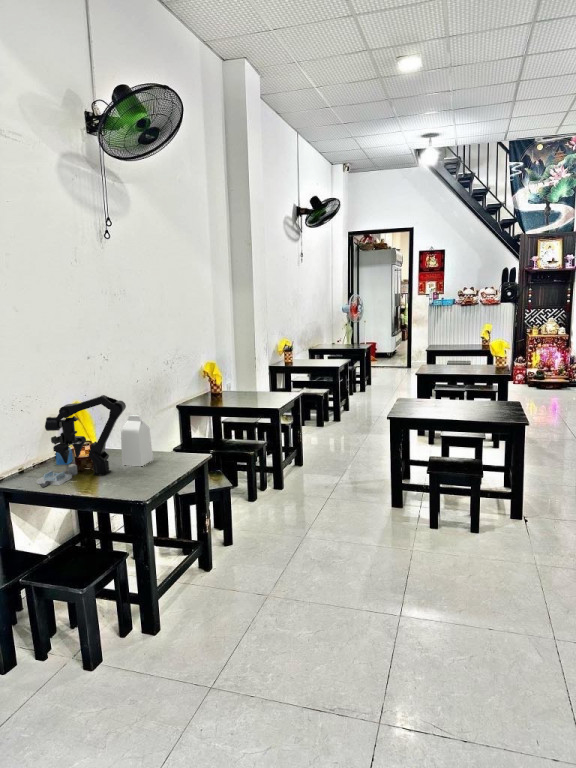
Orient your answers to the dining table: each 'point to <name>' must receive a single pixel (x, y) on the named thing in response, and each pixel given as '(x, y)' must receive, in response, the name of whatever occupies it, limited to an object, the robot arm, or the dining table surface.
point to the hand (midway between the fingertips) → (71, 460)
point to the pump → (72, 469)
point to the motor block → (53, 478)
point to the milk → (136, 442)
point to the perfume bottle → (60, 460)
